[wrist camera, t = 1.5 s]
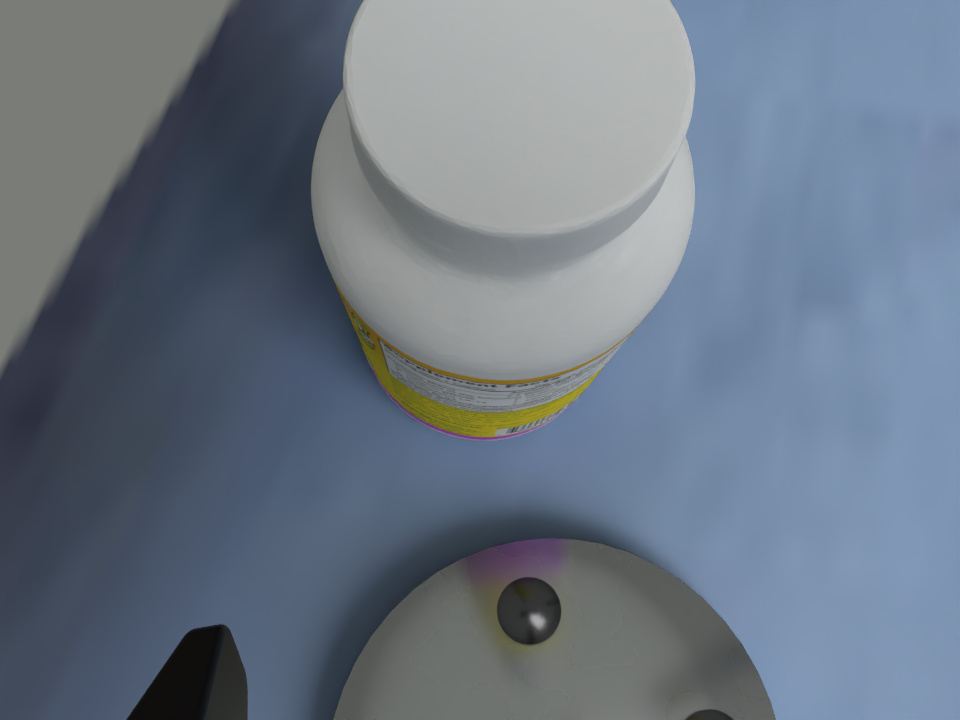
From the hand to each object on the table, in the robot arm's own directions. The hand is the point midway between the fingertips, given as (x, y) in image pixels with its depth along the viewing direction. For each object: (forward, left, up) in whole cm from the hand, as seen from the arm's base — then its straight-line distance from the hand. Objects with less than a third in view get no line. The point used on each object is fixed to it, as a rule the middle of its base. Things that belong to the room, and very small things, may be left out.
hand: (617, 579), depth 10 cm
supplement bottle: (+4, -5, -13) cm, 14 cm away
